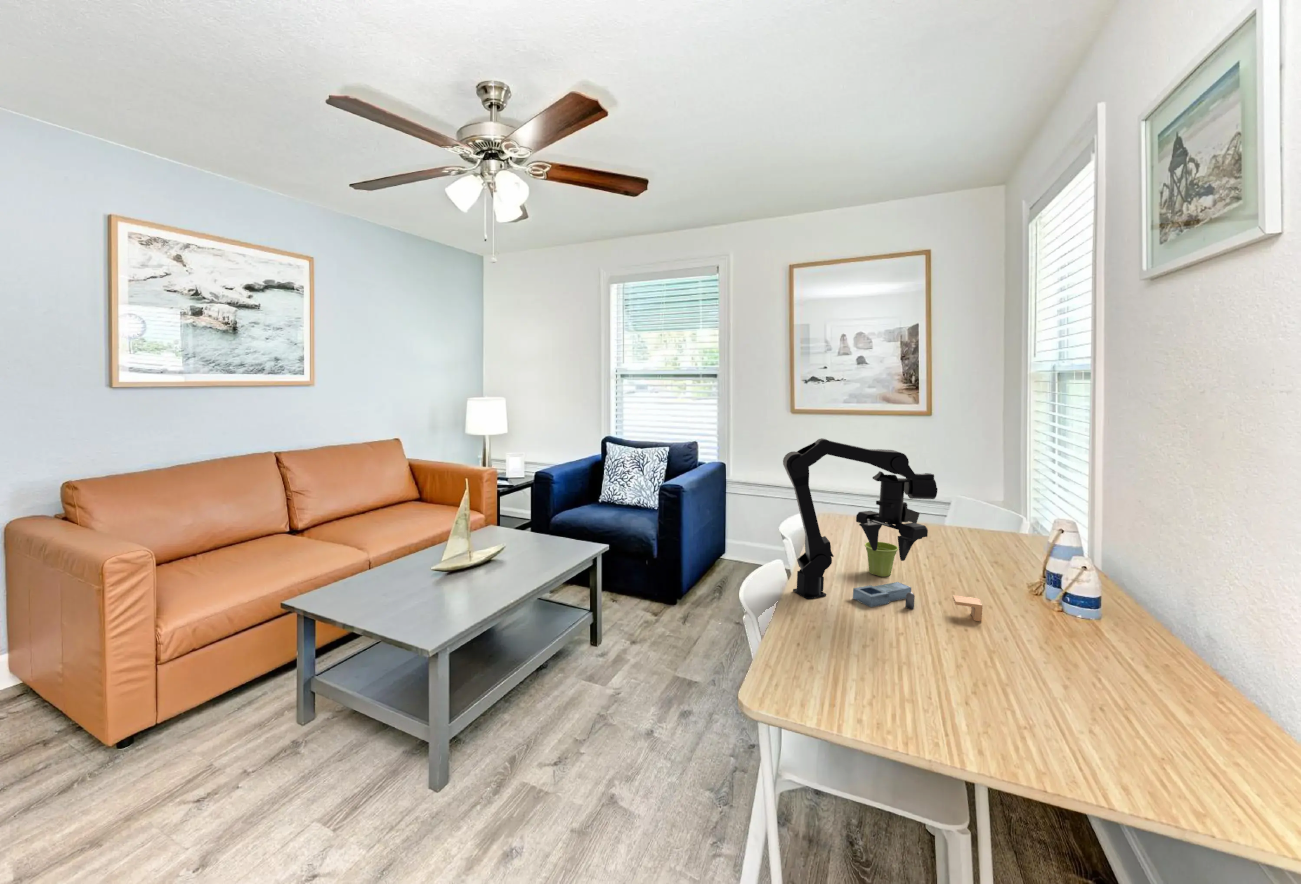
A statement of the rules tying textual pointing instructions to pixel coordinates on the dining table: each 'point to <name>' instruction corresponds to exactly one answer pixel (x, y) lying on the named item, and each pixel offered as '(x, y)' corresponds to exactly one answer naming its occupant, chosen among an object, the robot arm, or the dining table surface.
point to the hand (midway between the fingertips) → (888, 555)
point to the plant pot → (881, 558)
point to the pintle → (909, 600)
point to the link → (880, 593)
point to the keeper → (970, 605)
